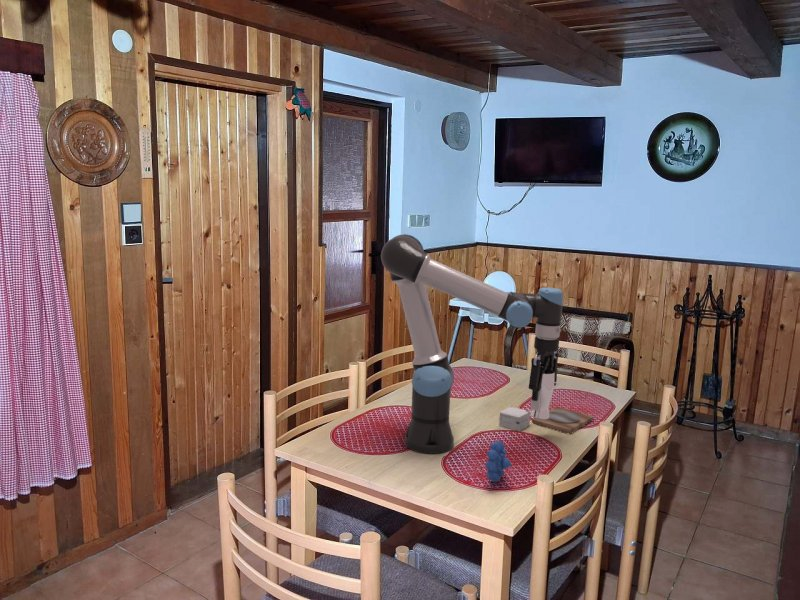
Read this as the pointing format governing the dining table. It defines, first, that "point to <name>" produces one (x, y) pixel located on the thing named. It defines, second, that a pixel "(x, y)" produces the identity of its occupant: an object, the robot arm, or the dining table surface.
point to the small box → (514, 418)
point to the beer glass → (545, 397)
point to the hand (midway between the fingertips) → (540, 407)
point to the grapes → (496, 461)
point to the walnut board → (564, 420)
